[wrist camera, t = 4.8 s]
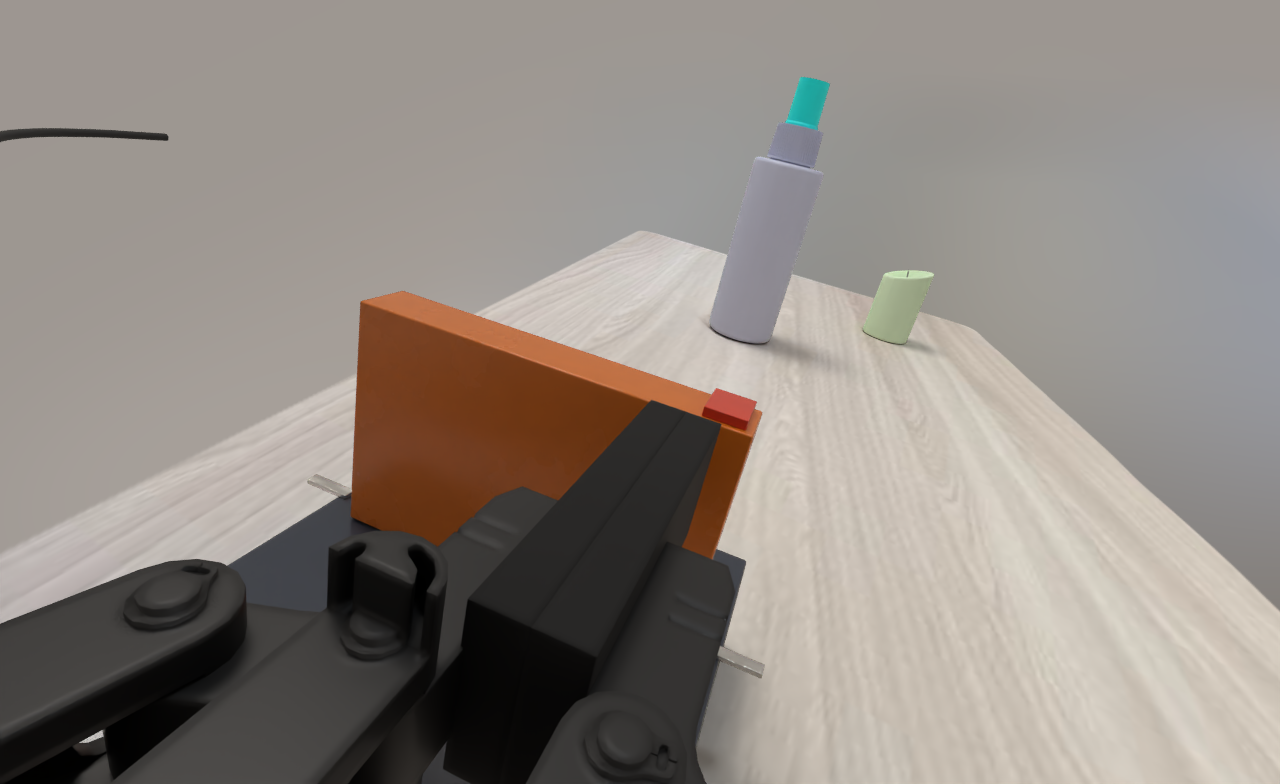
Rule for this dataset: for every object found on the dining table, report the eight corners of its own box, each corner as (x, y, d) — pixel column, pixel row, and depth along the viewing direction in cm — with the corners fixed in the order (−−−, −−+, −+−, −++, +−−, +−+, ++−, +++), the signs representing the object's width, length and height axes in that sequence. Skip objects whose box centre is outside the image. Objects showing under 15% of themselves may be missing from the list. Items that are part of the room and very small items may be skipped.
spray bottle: (710, 317, 61) (777, 77, 53) (769, 333, 61) (846, 93, 52) (705, 333, 56) (779, 67, 47) (769, 350, 55) (856, 85, 47)
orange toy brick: (349, 517, 17) (359, 291, 15) (387, 491, 19) (403, 281, 16) (677, 660, 15) (757, 426, 13) (692, 619, 17) (766, 401, 14)
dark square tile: (56, 754, 14) (29, 631, 12) (441, 476, 26) (449, 401, 25) (649, 1115, 11) (703, 1009, 9) (758, 604, 23) (788, 527, 22)
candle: (866, 336, 69) (893, 265, 66) (859, 325, 74) (884, 258, 70) (910, 348, 69) (940, 277, 65) (900, 336, 73) (927, 269, 70)
